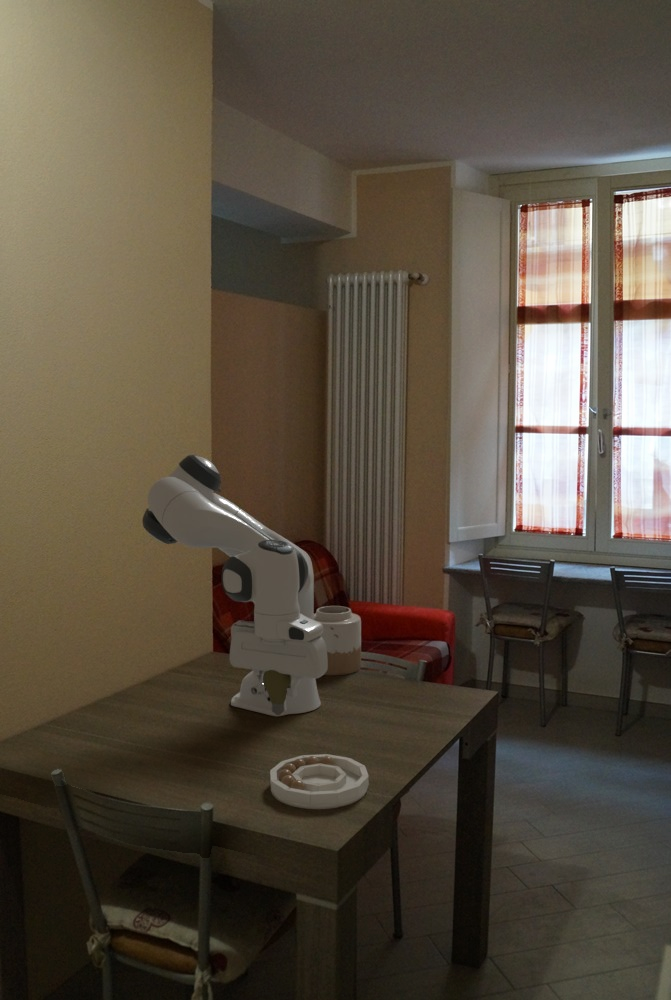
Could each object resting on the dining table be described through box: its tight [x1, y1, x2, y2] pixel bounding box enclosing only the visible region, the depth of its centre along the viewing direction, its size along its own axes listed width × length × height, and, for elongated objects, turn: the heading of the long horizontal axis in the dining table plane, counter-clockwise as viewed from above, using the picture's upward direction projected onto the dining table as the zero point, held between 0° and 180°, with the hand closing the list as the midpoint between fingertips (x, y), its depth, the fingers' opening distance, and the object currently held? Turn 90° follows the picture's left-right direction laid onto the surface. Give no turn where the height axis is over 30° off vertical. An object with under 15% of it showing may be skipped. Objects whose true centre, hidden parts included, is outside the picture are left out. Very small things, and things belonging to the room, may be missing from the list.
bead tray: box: [269, 753, 370, 810], centre depth 185 cm, size 19×19×4 cm
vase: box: [314, 605, 362, 676], centre depth 264 cm, size 15×15×17 cm
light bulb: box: [263, 670, 292, 715], centre depth 183 cm, size 6×6×10 cm
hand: (278, 693), depth 183 cm, fingers closed on light bulb, 5 cm apart
